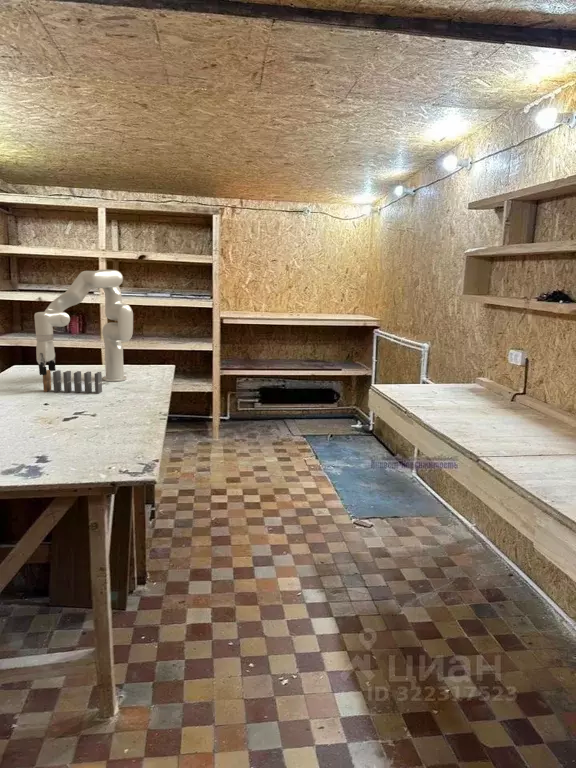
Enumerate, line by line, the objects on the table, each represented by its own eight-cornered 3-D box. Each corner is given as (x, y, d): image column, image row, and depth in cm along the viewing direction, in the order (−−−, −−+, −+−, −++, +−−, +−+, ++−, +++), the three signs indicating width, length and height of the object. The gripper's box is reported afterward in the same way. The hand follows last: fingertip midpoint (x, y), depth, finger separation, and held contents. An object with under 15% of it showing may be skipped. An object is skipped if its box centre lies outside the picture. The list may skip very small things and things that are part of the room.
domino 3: (64, 392, 249) (63, 372, 247) (68, 390, 254) (67, 370, 252) (67, 392, 249) (66, 372, 247) (71, 390, 254) (70, 370, 252)
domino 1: (43, 391, 249) (42, 371, 247) (48, 389, 254) (47, 369, 252) (47, 392, 249) (45, 371, 247) (51, 389, 254) (50, 370, 252)
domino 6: (95, 393, 249) (94, 373, 247) (98, 391, 254) (98, 371, 252) (98, 393, 249) (97, 373, 247) (102, 391, 254) (101, 372, 252)
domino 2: (53, 392, 249) (52, 372, 247) (58, 390, 254) (57, 370, 252) (57, 392, 249) (56, 372, 247) (61, 390, 254) (60, 370, 252)
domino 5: (84, 393, 249) (84, 373, 247) (88, 391, 254) (87, 371, 252) (88, 393, 249) (87, 373, 247) (92, 391, 254) (91, 371, 252)
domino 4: (74, 393, 249) (73, 372, 247) (78, 390, 254) (77, 371, 252) (77, 393, 249) (77, 373, 247) (81, 391, 254) (81, 371, 252)
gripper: (45, 335, 254) (48, 369, 258) (28, 340, 237) (31, 376, 241) (60, 335, 254) (62, 369, 258) (44, 340, 238) (47, 376, 241)
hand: (47, 372), depth 250 cm, fingers open, 9 cm apart
